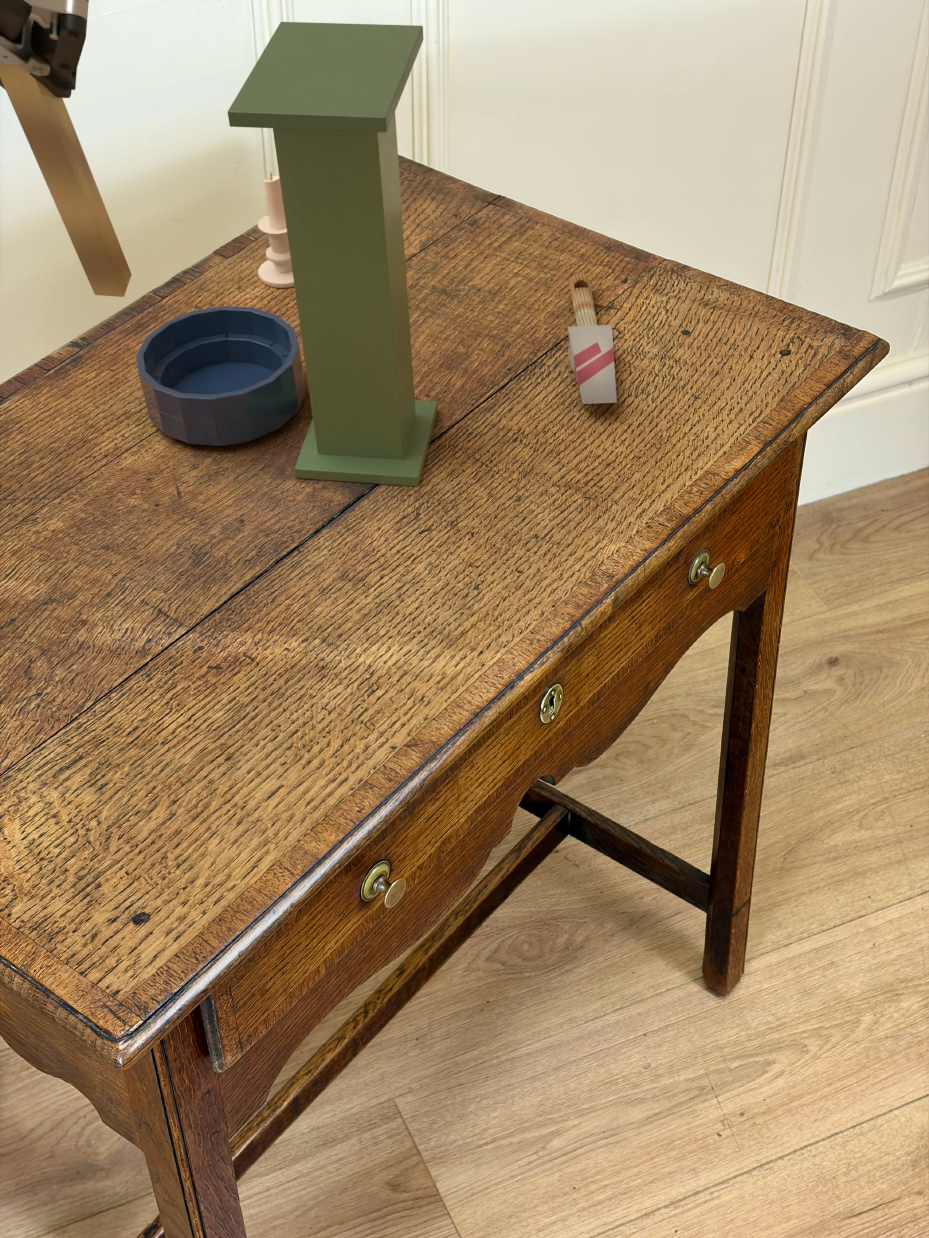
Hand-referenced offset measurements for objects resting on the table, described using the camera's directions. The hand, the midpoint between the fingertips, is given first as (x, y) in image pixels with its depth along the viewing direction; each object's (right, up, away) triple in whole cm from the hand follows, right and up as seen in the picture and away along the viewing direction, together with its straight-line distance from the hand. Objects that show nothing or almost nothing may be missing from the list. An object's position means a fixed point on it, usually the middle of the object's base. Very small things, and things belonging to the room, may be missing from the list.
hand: (43, 79), depth 73 cm
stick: (0, -4, +2) cm, 5 cm away
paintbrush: (+35, -7, +42) cm, 55 cm away
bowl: (+3, -12, +38) cm, 40 cm away
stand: (+16, -16, +34) cm, 41 cm away
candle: (+6, +3, +53) cm, 53 cm away
